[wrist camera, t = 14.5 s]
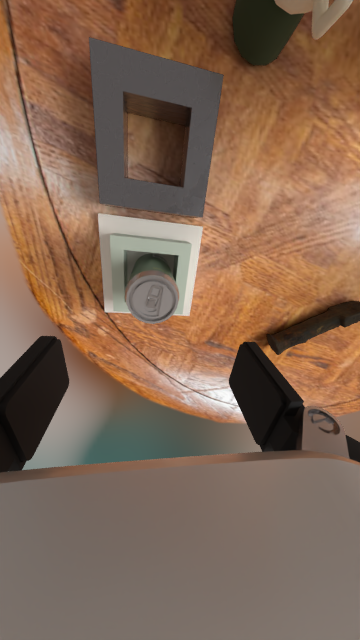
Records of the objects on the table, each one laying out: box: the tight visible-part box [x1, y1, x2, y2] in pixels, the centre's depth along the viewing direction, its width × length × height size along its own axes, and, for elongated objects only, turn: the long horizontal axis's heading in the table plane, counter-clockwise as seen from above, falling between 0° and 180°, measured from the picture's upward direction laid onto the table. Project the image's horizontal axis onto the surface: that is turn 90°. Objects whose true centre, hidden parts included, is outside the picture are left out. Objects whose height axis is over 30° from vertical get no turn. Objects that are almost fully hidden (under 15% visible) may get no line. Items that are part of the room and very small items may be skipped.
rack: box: [98, 213, 203, 316], centre depth 27 cm, size 14×14×5 cm
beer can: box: [125, 253, 179, 324], centre depth 23 cm, size 5×5×12 cm
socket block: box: [89, 37, 224, 218], centre depth 21 cm, size 12×12×4 cm
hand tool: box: [267, 301, 360, 355], centre depth 37 cm, size 19×4×5 cm, turn 112°
